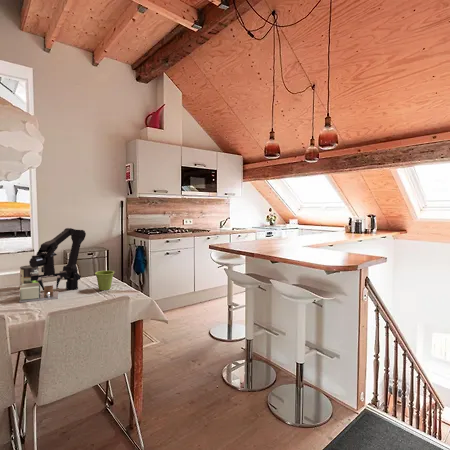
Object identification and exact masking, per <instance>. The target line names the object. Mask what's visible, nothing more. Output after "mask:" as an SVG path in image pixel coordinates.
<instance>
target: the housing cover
mask: <svg viewBox="0 0 450 450" xmlns="http://www.w3.org/2000/svg"><path fill="white" fill-rule="evenodd" d="M39 293H41V285H40V284H39V283H27V284H22V286H21V285H20V288H19V300H24V299H34V298H39Z"/></svg>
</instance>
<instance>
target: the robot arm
mask: <svg viewBox="0 0 450 450" xmlns="http://www.w3.org/2000/svg"><path fill="white" fill-rule="evenodd" d="M86 235H87V234H86V231H85V230H84V229H74V228H71V227H70V228H69V227H67V228H65V229H63V231H61V232H60V233H59V234H58V235H56V236H55V237H54V238H52V239H50V240H46V241H45V242H43V243H42V244H40V247H39V249H38V250H37V252H36V254H34V255H31V258H30V259H29V265H30V266H31V267H32V268H35V267H38V268H39V267H41V273H43V274H32V275H31V281H35V280H36V282H38V283H39V284H40V288H41V289H42V292H44V286H45V285H44V282H43V278H45V279H47V278H52V277H54V278H55V277H56V287H55V289H56V290H57V289H58V287H59V284H60V281H61V280H66V281H65V289H66V291H71V290H79V283H78V282H79V280H81V277H82V275H80V274H79V273H78V271H79V270H78V266H77V263H78V257H79V254H80V253H79V252H80V249H81V245H82V243H83V242H84V241H85V238H86ZM70 236H71V237H70ZM69 237H70V238H71V239H70V240H71V242H72V243H71V248H70V252H69V255H68V256H69V257H68V260H67V264H66V265H63V267H62V270H61V271H59V272H56V270H55V258H54V257H56V256H57V255H58V254H57V253H56V250H57V249H58V247H59V245H60V244H62V243H63V242H64V241H66V239H67V238H69Z"/></svg>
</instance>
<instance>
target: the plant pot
mask: <svg viewBox="0 0 450 450" xmlns="http://www.w3.org/2000/svg"><path fill="white" fill-rule="evenodd" d="M114 274H115V270H99V271H96V272H95V277H96V280H97V285H98V286H97V287H98V290H99V291H102V290H106V291H108V289H110V288H112V281H113V278H114ZM110 290H111V289H110Z"/></svg>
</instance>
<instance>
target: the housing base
mask: <svg viewBox="0 0 450 450" xmlns="http://www.w3.org/2000/svg"><path fill="white" fill-rule="evenodd" d="M58 298H59V290H58V291H56V290H55V291H53V295H52V296H50V292H47V293H46V296H44V292H40V293H39V298H34V299H24V300H20V299H19V300H18V303H19V304H21V303H30V302H37V301H38V302H39V301H40V302H41V301H48V300H54V299H58Z"/></svg>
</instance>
